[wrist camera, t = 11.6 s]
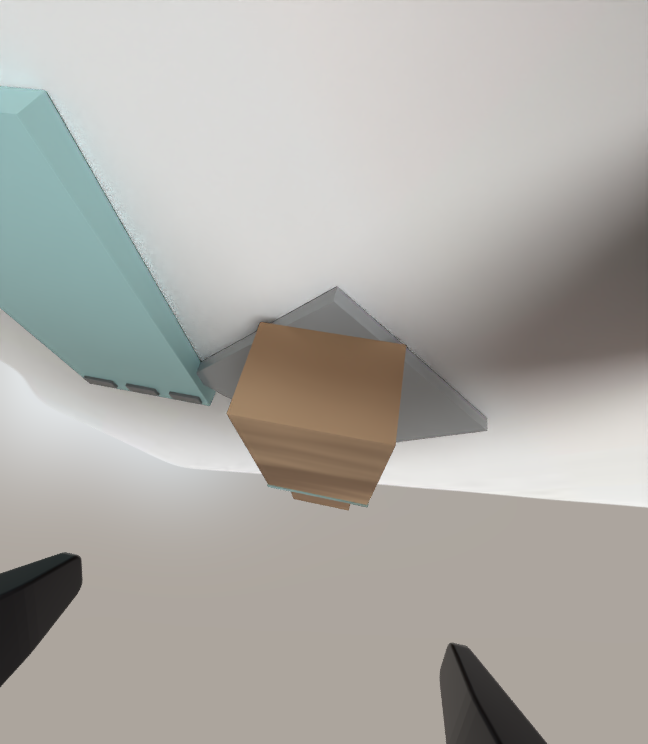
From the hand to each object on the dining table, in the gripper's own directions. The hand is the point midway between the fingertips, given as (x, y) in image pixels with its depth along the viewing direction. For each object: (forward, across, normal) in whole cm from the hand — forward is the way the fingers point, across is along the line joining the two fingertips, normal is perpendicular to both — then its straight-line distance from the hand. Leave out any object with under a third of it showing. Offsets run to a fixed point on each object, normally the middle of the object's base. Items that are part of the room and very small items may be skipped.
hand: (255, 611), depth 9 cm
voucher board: (+7, -10, +6) cm, 13 cm away
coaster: (+10, 0, +2) cm, 10 cm away
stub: (+14, +1, -5) cm, 15 cm away
